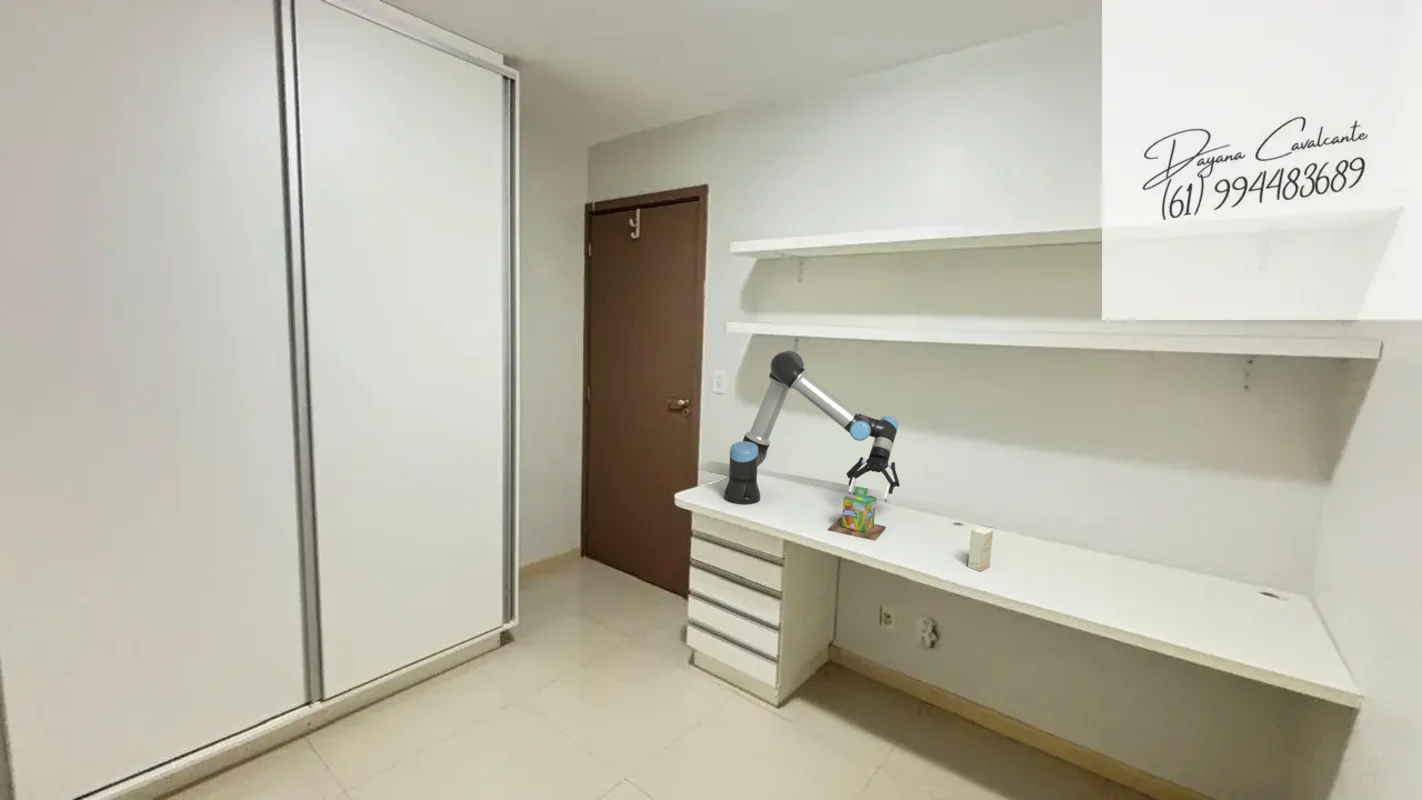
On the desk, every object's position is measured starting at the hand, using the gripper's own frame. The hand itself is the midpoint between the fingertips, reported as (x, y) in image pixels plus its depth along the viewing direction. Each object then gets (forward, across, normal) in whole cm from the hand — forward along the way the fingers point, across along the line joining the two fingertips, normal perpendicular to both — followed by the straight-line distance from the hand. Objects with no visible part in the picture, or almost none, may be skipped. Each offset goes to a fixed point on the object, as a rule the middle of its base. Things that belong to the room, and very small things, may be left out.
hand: (867, 496), depth 223 cm
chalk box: (+14, 0, +2) cm, 14 cm away
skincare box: (+22, -42, +8) cm, 48 cm away
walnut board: (+15, 0, +1) cm, 15 cm away
